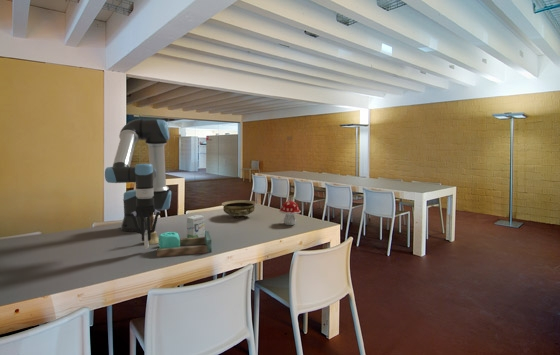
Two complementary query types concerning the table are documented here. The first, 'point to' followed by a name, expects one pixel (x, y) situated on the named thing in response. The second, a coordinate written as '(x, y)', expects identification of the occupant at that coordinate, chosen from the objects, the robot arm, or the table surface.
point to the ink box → (195, 226)
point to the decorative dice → (169, 240)
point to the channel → (190, 249)
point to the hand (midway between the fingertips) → (146, 247)
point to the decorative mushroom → (289, 212)
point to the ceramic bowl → (239, 208)
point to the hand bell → (153, 235)
